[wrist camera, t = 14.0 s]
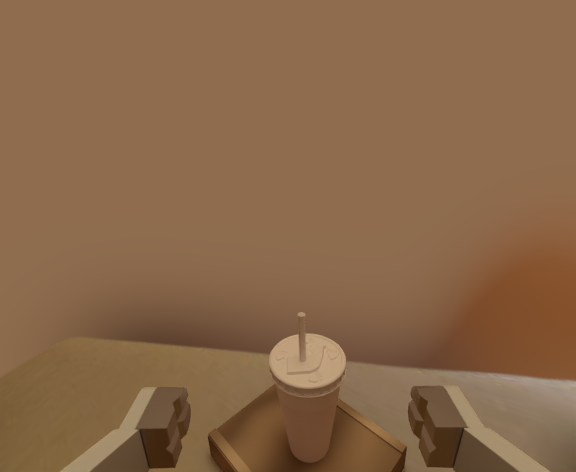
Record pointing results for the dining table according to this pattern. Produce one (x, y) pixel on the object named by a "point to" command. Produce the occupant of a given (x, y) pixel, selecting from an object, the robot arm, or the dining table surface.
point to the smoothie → (308, 389)
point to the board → (276, 450)
